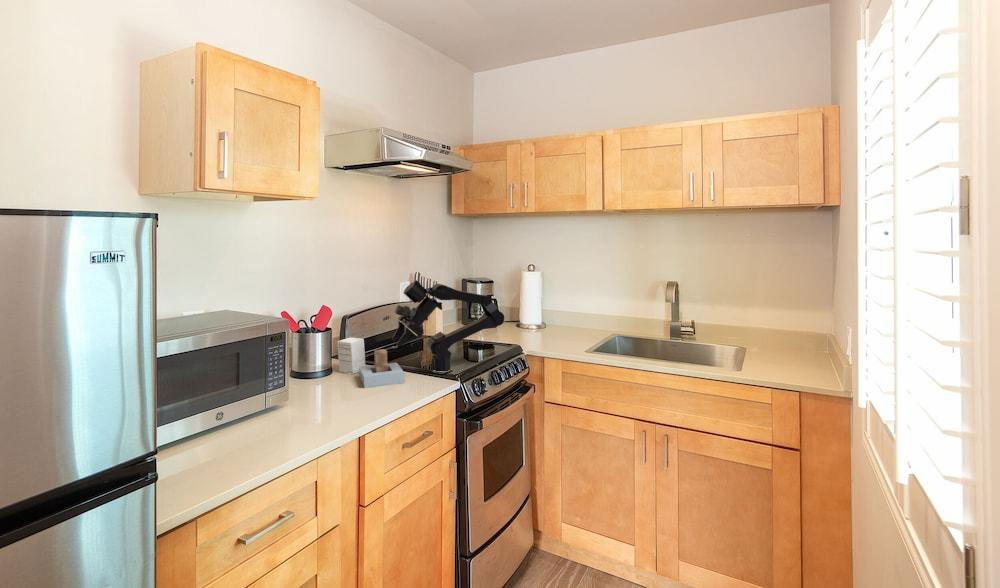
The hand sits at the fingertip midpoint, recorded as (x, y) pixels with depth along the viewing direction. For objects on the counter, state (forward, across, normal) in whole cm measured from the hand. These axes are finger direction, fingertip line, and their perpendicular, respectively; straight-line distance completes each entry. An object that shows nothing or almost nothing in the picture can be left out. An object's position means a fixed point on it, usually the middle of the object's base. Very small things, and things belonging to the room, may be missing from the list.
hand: (395, 342), depth 178 cm
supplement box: (+20, -17, 0) cm, 26 cm away
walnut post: (+13, 0, +5) cm, 14 cm away
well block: (+13, 0, +6) cm, 14 cm away
